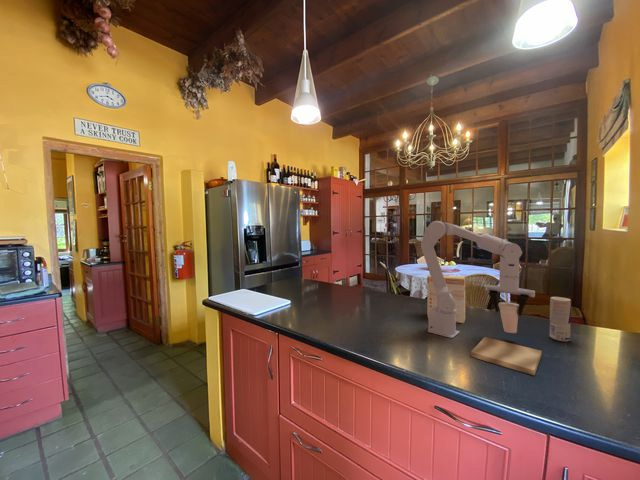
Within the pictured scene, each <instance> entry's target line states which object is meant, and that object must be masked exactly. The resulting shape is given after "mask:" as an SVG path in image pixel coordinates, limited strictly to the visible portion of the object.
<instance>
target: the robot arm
mask: <svg viewBox="0 0 640 480" xmlns="http://www.w3.org/2000/svg"><path fill="white" fill-rule="evenodd" d="M444 235H446V236H458V237H460V238H463V239H466V240H469V241H472V242H475V243H476V245H477V247H478V248H480V249H482V250H485V251H488V252H489V253H493V254H495V255H498V256H500V258H499V259H500V260H499V285H494V284H493V285H491V284H486V285H484V291H486V292H488V294H489V296H490V299H491V300H492V303H493V306H494V309H495V310H494V312H495V313H498V312H500V308H499V307H498V304H499V303H500V294H501V293H504V294H505V292H507V294H509V295H510V294H512V295H518V305H519V310H518V317H522V316H523V311H524V308H525V306H526V304H527V302H528V300H529V299H530V298H535V297H536V291H535V290H531V289H527V288H520V258H521V256H522V255H523V250H522V248H521V246H519V244H517V243H515V242H510V241H508V239H506V238H500V237H497V236H495V235H494V233H492V232H489V233H486V232H484V233H482V234H479V233H476V232H474V231H472V230H469V229H466V228H464V227H462V226H459V225H456V224H453V223H449V222H443V221H440V220H434V221H431V223H429V225H428V226H427V227H426V228H425V230H424V233H423V236H422V239H421V243H420V247H421V251H422V254H423V257H424V260H425V262H426V265H427V266H426V267H427V269H428V272H429V275H431V278H432V281H433V284H434V287H435V291H436V295H437V307H436V308H431V309H430V311H429V316H428V317H427V319H428V328H427V329H428V330H427V332H428V333H431V334H433V335H434V334H435V335H438V336H442V337H446V338H450V339H454V338H455V337H457V335H458V334H460V330H456V329H457V327H456V325H457V322H456V310H455V306H456V304H455V301H454V297H453V295H452V294H451V293H450V292H449V290H448V288H447V285H446V282H445V279H444V276H443V275H444V274H443V271H442V268H441V264H440V262H439V259H438V256H437V252H436V250H435V245H436V244H437V243H438V240H439V239H441V238H442V237H443V236H444Z"/></svg>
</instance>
